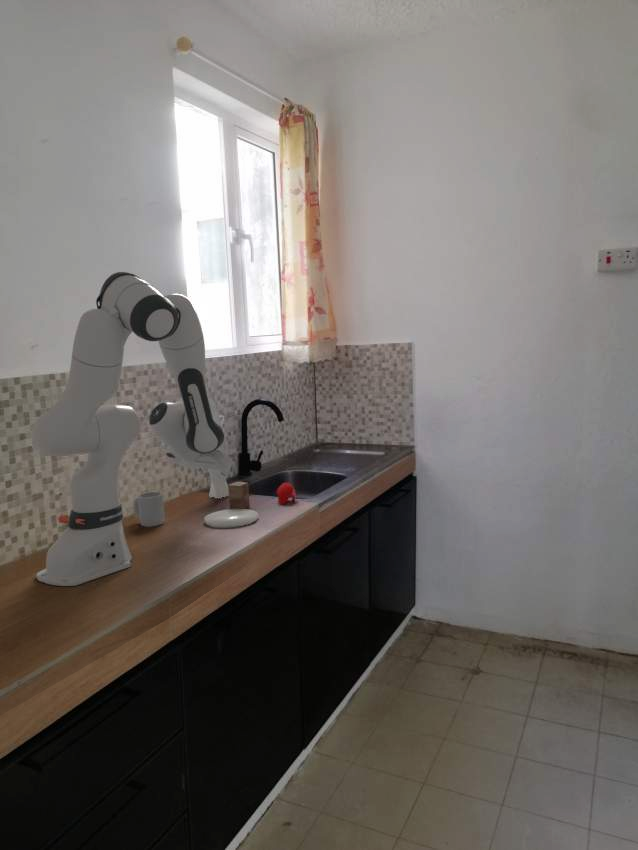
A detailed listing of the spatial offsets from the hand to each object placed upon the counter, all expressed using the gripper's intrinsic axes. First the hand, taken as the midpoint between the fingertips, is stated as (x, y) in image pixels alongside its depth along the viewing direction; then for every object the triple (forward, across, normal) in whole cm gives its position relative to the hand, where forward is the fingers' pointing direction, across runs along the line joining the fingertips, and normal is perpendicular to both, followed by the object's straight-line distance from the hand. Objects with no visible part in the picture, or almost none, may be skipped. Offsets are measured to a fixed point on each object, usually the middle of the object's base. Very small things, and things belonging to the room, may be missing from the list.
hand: (214, 472), depth 189 cm
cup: (+1, +16, +19) cm, 25 cm away
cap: (+27, -8, -7) cm, 29 cm away
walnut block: (+18, +1, +2) cm, 18 cm away
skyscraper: (+25, +17, -5) cm, 31 cm away
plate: (+10, -6, +10) cm, 15 cm away
